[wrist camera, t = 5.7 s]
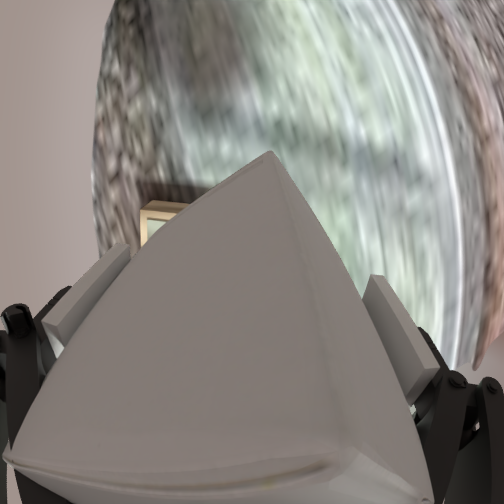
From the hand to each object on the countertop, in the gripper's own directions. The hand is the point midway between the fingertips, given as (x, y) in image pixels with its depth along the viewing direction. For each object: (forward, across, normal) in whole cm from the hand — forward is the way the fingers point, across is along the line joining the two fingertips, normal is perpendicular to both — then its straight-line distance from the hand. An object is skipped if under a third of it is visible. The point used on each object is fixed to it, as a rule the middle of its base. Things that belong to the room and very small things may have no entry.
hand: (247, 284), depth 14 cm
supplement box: (+4, 0, 0) cm, 4 cm away
